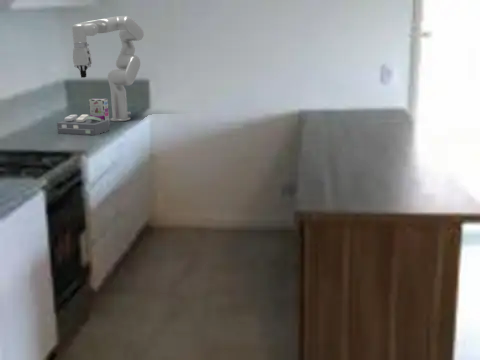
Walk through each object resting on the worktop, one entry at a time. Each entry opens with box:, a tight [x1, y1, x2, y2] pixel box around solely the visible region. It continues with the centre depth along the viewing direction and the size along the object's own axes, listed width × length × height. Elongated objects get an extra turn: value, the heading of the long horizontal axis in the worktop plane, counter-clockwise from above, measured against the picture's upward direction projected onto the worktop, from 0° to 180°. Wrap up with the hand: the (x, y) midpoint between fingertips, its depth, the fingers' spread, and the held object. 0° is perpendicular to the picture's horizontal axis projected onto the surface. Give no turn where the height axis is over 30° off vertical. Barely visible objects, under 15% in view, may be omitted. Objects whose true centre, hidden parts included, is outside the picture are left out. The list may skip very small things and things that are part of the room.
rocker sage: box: [87, 115, 101, 121], centre depth 403 cm, size 7×4×2 cm, turn 157°
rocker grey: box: [63, 114, 79, 121], centre depth 409 cm, size 7×4×2 cm, turn 157°
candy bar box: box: [88, 98, 111, 127], centre depth 423 cm, size 11×5×16 cm, turn 62°
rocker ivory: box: [76, 113, 90, 122], centre depth 406 cm, size 7×4×2 cm, turn 157°
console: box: [56, 118, 110, 136], centre depth 407 cm, size 14×26×7 cm, turn 67°
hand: (83, 77), depth 413 cm, fingers closed
